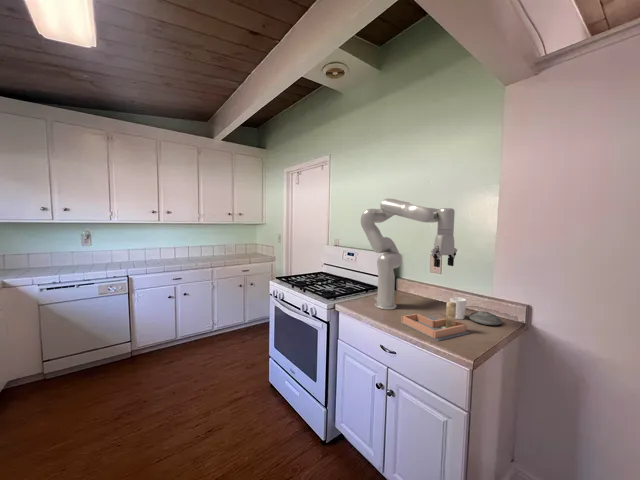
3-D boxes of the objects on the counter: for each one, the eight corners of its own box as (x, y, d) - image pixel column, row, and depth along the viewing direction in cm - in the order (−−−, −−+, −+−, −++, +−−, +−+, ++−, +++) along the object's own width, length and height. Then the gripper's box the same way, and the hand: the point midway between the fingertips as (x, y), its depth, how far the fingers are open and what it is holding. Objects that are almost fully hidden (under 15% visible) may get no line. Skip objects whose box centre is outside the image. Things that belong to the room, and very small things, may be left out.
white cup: (463, 315, 153) (464, 297, 152) (467, 320, 145) (468, 301, 144) (447, 314, 155) (448, 296, 154) (450, 318, 147) (451, 300, 146)
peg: (443, 327, 133) (444, 302, 132) (449, 326, 135) (450, 301, 134) (450, 330, 129) (451, 304, 129) (456, 329, 131) (458, 303, 130)
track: (400, 322, 140) (400, 315, 140) (429, 317, 149) (430, 310, 148) (437, 341, 119) (438, 332, 119) (469, 333, 128) (469, 325, 128)
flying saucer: (471, 314, 155) (472, 305, 154) (503, 321, 145) (504, 311, 145) (465, 322, 143) (465, 311, 143) (499, 330, 134) (500, 318, 133)
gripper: (451, 232, 148) (449, 264, 150) (426, 232, 141) (425, 266, 142) (463, 233, 142) (461, 266, 143) (439, 233, 134) (437, 268, 136)
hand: (443, 266), depth 143 cm, fingers open, 9 cm apart
